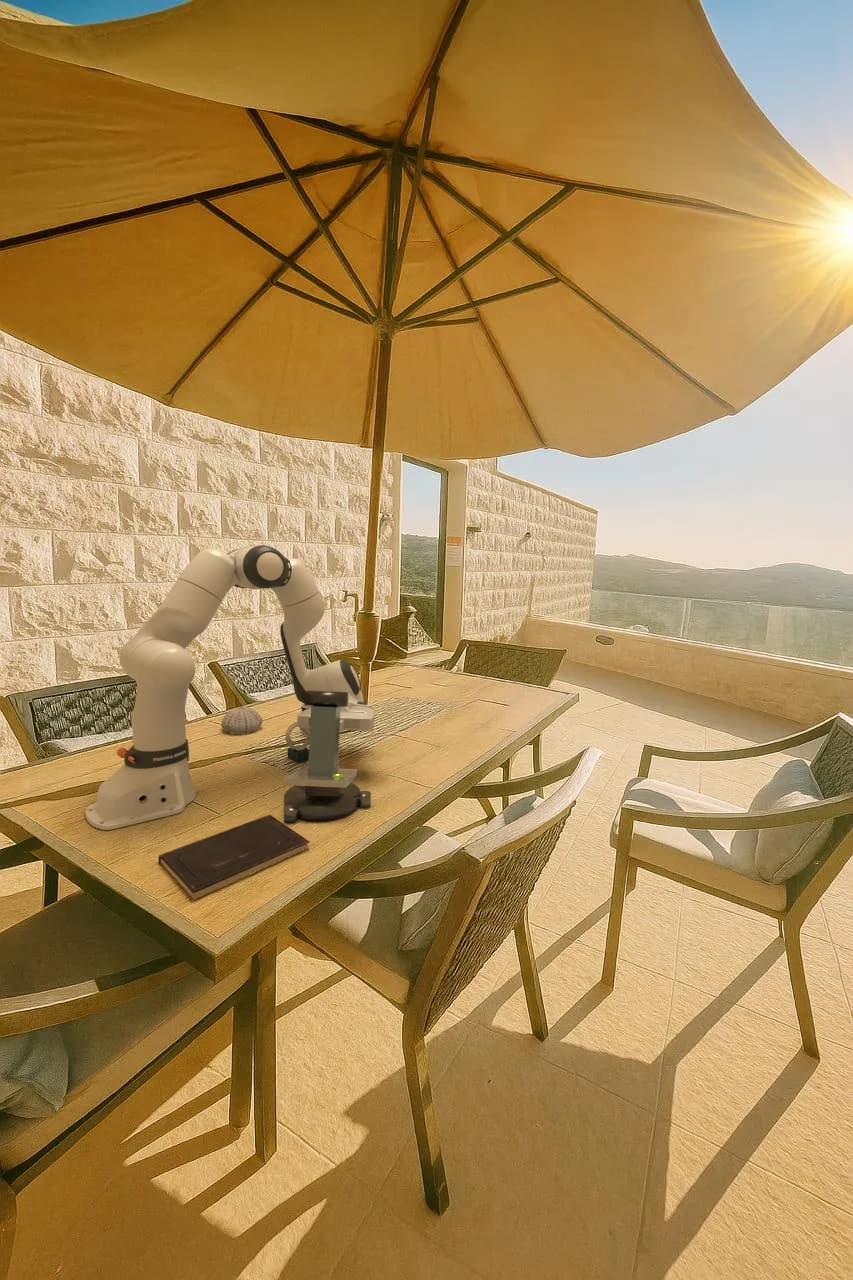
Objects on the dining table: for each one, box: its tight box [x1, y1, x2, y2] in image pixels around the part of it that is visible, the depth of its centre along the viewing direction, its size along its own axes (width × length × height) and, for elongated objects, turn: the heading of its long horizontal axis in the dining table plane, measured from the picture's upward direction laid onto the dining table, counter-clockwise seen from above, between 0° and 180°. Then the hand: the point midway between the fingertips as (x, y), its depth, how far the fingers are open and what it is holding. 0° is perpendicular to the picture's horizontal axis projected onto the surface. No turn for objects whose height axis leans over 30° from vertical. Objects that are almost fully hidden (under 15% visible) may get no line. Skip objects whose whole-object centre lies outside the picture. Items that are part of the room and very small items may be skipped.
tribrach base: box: [283, 781, 372, 825], centre depth 121 cm, size 20×21×6 cm
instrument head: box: [283, 691, 358, 788], centre depth 122 cm, size 14×14×21 cm
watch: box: [284, 721, 310, 764], centre depth 148 cm, size 6×8×11 cm
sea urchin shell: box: [220, 706, 263, 735], centre depth 173 cm, size 13×14×8 cm
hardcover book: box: [158, 813, 310, 900], centre depth 99 cm, size 16×23×2 cm
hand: (330, 728), depth 128 cm, fingers closed
